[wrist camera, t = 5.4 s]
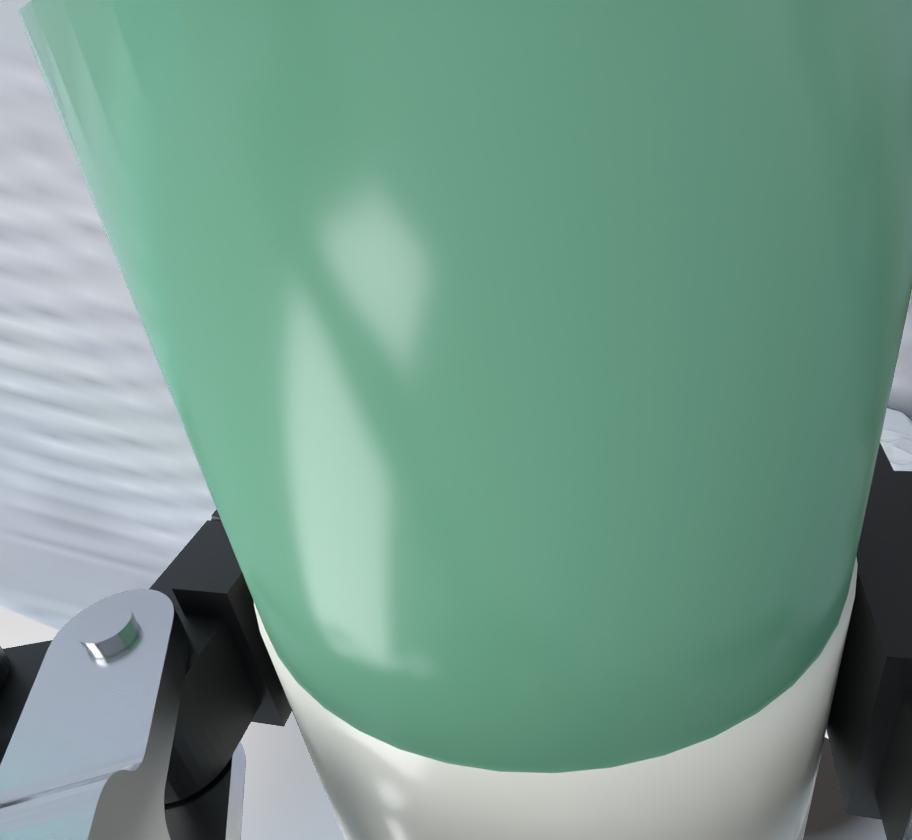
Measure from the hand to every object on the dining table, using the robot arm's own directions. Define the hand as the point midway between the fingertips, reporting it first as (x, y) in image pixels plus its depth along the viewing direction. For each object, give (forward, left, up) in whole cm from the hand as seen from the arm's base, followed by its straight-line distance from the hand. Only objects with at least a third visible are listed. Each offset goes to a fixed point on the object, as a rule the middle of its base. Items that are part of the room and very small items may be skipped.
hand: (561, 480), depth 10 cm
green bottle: (-2, -1, -1) cm, 2 cm away
